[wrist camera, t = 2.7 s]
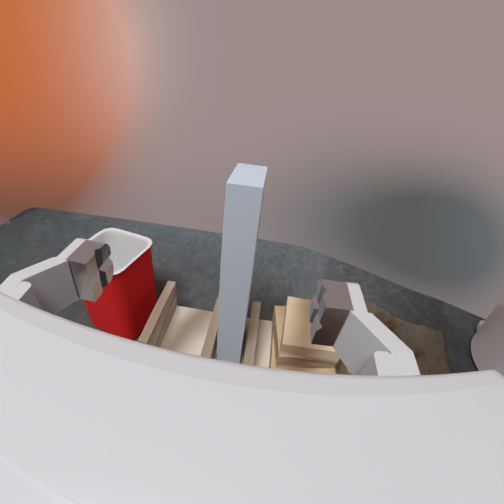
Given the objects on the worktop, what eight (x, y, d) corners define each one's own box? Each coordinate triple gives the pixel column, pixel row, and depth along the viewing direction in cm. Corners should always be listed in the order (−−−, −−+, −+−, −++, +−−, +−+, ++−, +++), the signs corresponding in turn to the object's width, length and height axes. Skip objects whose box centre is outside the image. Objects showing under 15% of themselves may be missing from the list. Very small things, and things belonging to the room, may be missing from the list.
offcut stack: (325, 331, 35) (338, 298, 32) (330, 384, 28) (348, 353, 25) (269, 324, 35) (277, 290, 32) (265, 379, 28) (274, 346, 25)
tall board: (245, 330, 34) (267, 166, 23) (239, 366, 30) (263, 187, 19) (224, 327, 34) (238, 163, 23) (216, 362, 30) (226, 183, 19)
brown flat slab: (349, 312, 41) (358, 291, 39) (429, 333, 38) (441, 314, 36) (336, 405, 28) (350, 387, 25) (439, 421, 25) (458, 404, 22)
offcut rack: (332, 335, 37) (344, 306, 34) (338, 398, 28) (356, 373, 25) (171, 312, 37) (168, 280, 34) (146, 370, 29) (137, 340, 26)
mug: (164, 306, 38) (157, 240, 32) (131, 347, 31) (113, 279, 25) (102, 280, 40) (89, 220, 35) (68, 312, 34) (46, 249, 28)
